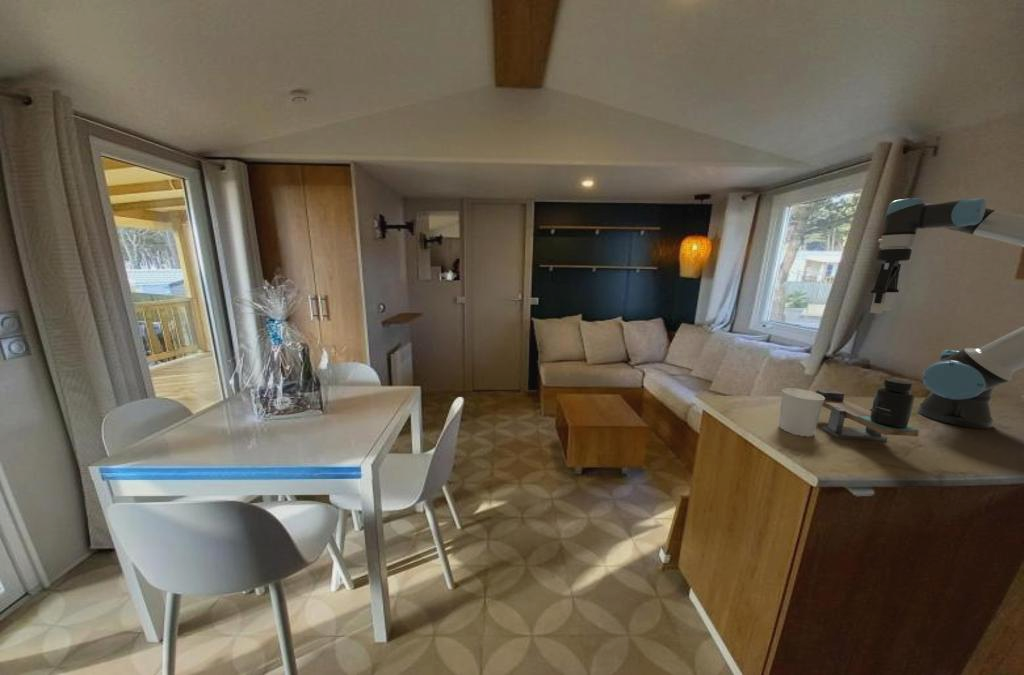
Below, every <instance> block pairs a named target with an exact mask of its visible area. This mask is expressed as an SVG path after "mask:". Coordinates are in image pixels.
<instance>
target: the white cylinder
mask: <svg viewBox="0 0 1024 675" xmlns="http://www.w3.org/2000/svg"><path fill="white" fill-rule="evenodd" d="M824 400H825V397H824V396H822V395H820V394H818V393H816V391H815V392H814V391H811V390H807V389H801V388H790V387H789V388H782V390H781V402H780V408H779V409H780V410H779V411H780V412H779V420H778V427H779V429H780V428H781V430H782V429H783V430H784V431H783V430H782V431H783V432H785V431H787V432H789V433H788V434H790V433H792V434H791V435H793V434H795V435H794V436H797V435H800V436H799V437H803V436H806V437H807V438H808V437H809V438H811V437H814V435H815V432H816V429H817V425H818V422H819V420H820V415H821V413H822V412H821V411H822V410H823V403H824ZM787 432H786V433H787ZM806 437H805V438H806Z"/></svg>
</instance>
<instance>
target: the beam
mask: <svg viewBox="0 0 1024 675" xmlns="http://www.w3.org/2000/svg"><path fill="white" fill-rule="evenodd" d="M815 393H818V394H820V395H822V396H824V397H825V400H824V403H823V406H822V408H825V409H827V410H830V411H831V409H832V407H839V408H841V409H843V410H845V411H846V415H845V419H848V420H851V421H853V422H856V423H858V424H860V425H863V426H865V428H866V427H868V428H871V429H873V430H875V431H877V432H879V433H881V435H884V436H885V435H886V436H887V435H889V436H906V437H918V436H919V429H916V428H914V427H913V426H909V425H907V427H905V428H893V427H888V426H884V425H881V424H878V423H876V422H874V421H872V420H871V419H870V416H871V411H870V410H869V409H866V408H864V407H861V406H859V405H857V404H855V403H851V402H849V401H847V400H844V399H845V393H844V392H841V391H839V390H832V389H831V390H827V389H826V390H825V389H824V390H823V389H816V391H815Z"/></svg>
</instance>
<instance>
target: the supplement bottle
mask: <svg viewBox="0 0 1024 675" xmlns="http://www.w3.org/2000/svg"><path fill="white" fill-rule="evenodd" d="M882 386H883V387H878V388H877V389H876V391H875V394H874V399H873V403H872V408H871V409H872V411H871V416H870V419H871V420H872V421H874V422H876V423H878V424H881V425H884V426H888V427H893V428H905V427H907V426H909V422H910V419H911V418H910V417H911V414H912V410H913V406H914V401H915V396H914V394H913V393H912V392H910V391H911V390H912V386H913V384H912V382H909V381H907V380H902V379H897V378H885V379H884V380H883V383H882Z"/></svg>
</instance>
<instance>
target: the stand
mask: <svg viewBox="0 0 1024 675" xmlns="http://www.w3.org/2000/svg"><path fill="white" fill-rule="evenodd" d="M869 411H872V408H870V410H869ZM845 415H846V411H845V410H843V409H841V408H839V407H832V409H831V410H830V415H829V419H828V422H827V425H822V426H821V430H823V431H824V432H826V433H827V434H829V433H830V434H829V435H831V436H833V437H835V438H836V439H842V440H843V439H845V440H846V439H847V440H860V441H861V440H862V441H863V440H864V441H879V442H887V441H888V437H886V436H885V435H884V434H881V433H879V432H877V431H875V430H873V429H871V428H868V427H866V426H865V427H846V426H844V423H845V419H846V418H845Z"/></svg>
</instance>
